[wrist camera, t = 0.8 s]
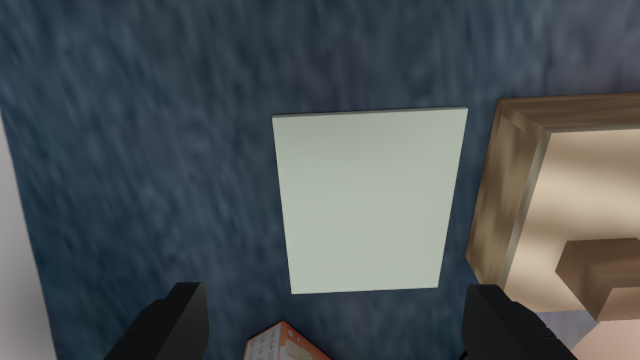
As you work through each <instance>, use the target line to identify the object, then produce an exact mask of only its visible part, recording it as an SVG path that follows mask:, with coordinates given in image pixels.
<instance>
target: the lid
mask: <svg viewBox="0 0 640 360" xmlns="http://www.w3.org/2000/svg"><path fill="white" fill-rule="evenodd" d="M497 285H498V286H499V287H500V288H501V289H502V290H503V291H504V292H505V294H506V295H507V296H508V297H509V298H510V299H511V300H512V301H517V302H519V303H520V304H522V305H524V306H525V307H527V308H528V309H530V310H531V311H533V312H550V311H572V310H587V311H588V312H589V313H590V315H591V316H592V317H593V318H594V319H595V321H611V320H631V319H640V123H619V124H598V125H576V126H554V127H542V130H541V133H540V137H539V140H538V144H537V147H536V151H535V154H534V158H533V161H532V165H531V168H530V172H529V175H528V179H527V182H526V186H525V189H524V193H523V196H522V199H521V203H520V206H519V210H518V213H517V217H516V220H515V224H514V227H513V231H512V234H511V238H510V241H509V245H508V248H507V252H506V255H505V259H504V262H503V266H502V269H501V273H500V276H499V280H498V283H497Z"/></svg>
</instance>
